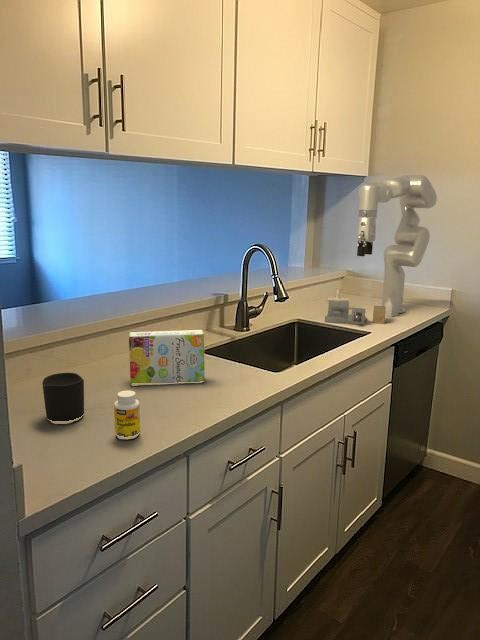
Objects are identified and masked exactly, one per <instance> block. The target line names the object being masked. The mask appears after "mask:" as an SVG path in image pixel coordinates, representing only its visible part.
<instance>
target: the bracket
mask: <svg viewBox="0 0 480 640" xmlns="http://www.w3.org/2000/svg"><path fill="white" fill-rule="evenodd" d="M349 311H350V301H349V302H347V301H333V300H329V301H328V309H327V314H326V315H325V316H324V323H329V324H330V323H331V324H341V325H342V324H343V325H354V326H355V325H356V326H365V323H366V318H367V316H366V308H362V307H352V310H351V314H349V313H350V312H349ZM355 312H362V316H361V318H360V321H355V320H354V318H355V315H356V313H355Z"/></svg>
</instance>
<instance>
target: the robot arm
mask: <svg viewBox="0 0 480 640" xmlns="http://www.w3.org/2000/svg"><path fill="white" fill-rule="evenodd" d="M357 194H358V199H359V204H358V205H359V206H358V219H359V224H358V231H357V249H356V250H357V251H356V252H357V253H356V255H357V257H365V256H366V255H367V256H368V255H373V247H374V246H373V245H374V241H375V240H376V232H377V231H376V229H377V228H376V227H377V224H376V223H377V220H376V219H377V218H378V208H379V207H378V205H379V204H381V203H383V204H384V203H387V202H390V201H391V200H392V199H397V198H399V204H400V211H401V219H400V221H399V224H398V226H397V229H396V231H395V233H394V238H393V240H394V243H395V244H390V245H388V246H386V247H385V249H384V250H383V261H384V266H383V267H384V273H383V285H382V296H381V299H382V300H381V306H385V303H386V301H387V299H388V297H389V296H390V295H394V294H397V298H398V301H399V312H398V314H403V313H405V312H406V308H404V307H403V301H404V290H405V278H406V274H405V271H404V269H403V267H410V268H417V267H418V266H419V265H420V264H421V262H422V260H423V257H424V255H425V252H426V249H427V247H428V245H429V242H430V236H431V235H430V230H429V229H428V228H427V227H425V226H419V224H420V220H421V219H420V216H419V214H418V213H417V211H416V210H415V209H431V208H434V207H435V205H436V204H437V200H438V199H437V198H438V197H437V193H436V190H435V188H434V186H433V185H432V182H431V181H430V180H429V178H428V177H427V176H426V175H422V174H407V175H402V176H397V177H395V178H391V179H384V180H379V181H372V182H367V183H364V184H362V185H361V186H360V188H359V190H358V193H357Z"/></svg>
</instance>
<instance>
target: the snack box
mask: <svg viewBox="0 0 480 640" xmlns="http://www.w3.org/2000/svg"><path fill="white" fill-rule="evenodd" d="M128 353H129V354H128V356H129V378H130V385H131V384H132V383H175V382H177V383H178V382H200V381H204V382H205V333H204V331H203V330H202V329H192V330H191V329H190V330H160V331H159V330H158V331H154V330H153V331H134V332H133V331H132V332H131V331H130V332H128Z"/></svg>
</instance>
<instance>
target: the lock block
mask: <svg viewBox="0 0 480 640" xmlns="http://www.w3.org/2000/svg"><path fill="white" fill-rule="evenodd" d="M385 312H386V306H382V305H374V306H373V311H372V322H371V323H372V324H376V325H377V324H378V325H385V320H386V317H385Z"/></svg>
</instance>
